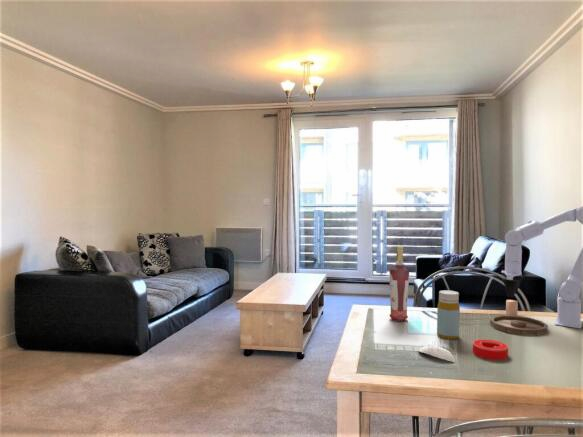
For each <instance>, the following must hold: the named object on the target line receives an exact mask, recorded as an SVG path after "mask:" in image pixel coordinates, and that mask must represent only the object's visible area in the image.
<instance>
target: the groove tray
mask: <svg viewBox="0 0 583 437" xmlns="http://www.w3.org/2000/svg"><path fill="white" fill-rule="evenodd" d="M489 325H490V326H491V327H493V329H494V330H495V329H496V330H498V331H500V332H501V331H502V332H505V333H509V334H513V335H520V336H521V335H522V336H539V335H546V334H547V332H548V328H549V325H548V323H545V322H543V321H542V320H539V319H536V318H533V317H532V318H531V317H526V316H520V315H517V316H513V315H506V314H502V315H495V316H492V317H491V318H490V320H489Z"/></svg>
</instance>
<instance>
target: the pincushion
mask: <svg viewBox="0 0 583 437" xmlns="http://www.w3.org/2000/svg"><path fill="white" fill-rule="evenodd" d="M439 338H440V340H439V343H440V344H439V346H438V345H436V344H435V343H436V342H434V345H425V346H422V347H420V348H418V350H417V351H418V352H420V353H424V354H426V355H427V356H428V357H430V356H431V357H435V358H437V359H441V360H446V361H448V362H452V363H456V360H455V357H454V356H453V354H452V353H451V352H450V351H449V350H447V349H445V347H441V339H442V338H441V337H439Z"/></svg>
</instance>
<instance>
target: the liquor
mask: <svg viewBox="0 0 583 437" xmlns="http://www.w3.org/2000/svg"><path fill="white" fill-rule="evenodd" d="M395 253H396V258H395V265H394V267H391V268H390V269H389V292H390V295H389V296H390V300H389V301H390V313H389V317H390V319H391V320H392V321H394V322H405V321H406V320H407V319H408V318H409V316H408V298H409V297H408V296H409V286H410V285H409V283H410V282H409V281H410V270H409V269H408V268H406V267H404V257H403V256H404V246H402V245H396V247H395Z"/></svg>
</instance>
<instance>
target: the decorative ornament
mask: <svg viewBox="0 0 583 437" xmlns="http://www.w3.org/2000/svg"><path fill="white" fill-rule="evenodd" d="M472 354H474V355H475V356H476V357H479V358H482V359H485V360H486V359H487V360H492V361H493V360H494V361H498V360H499V361H500V360H501V361H503V360H506V359H507V358H508V357H509V347H508V345H507V344H505V343H503V342H501V341H499V340H498V341H497V340H493V339H476V340H474V341H473V342H472Z"/></svg>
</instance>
